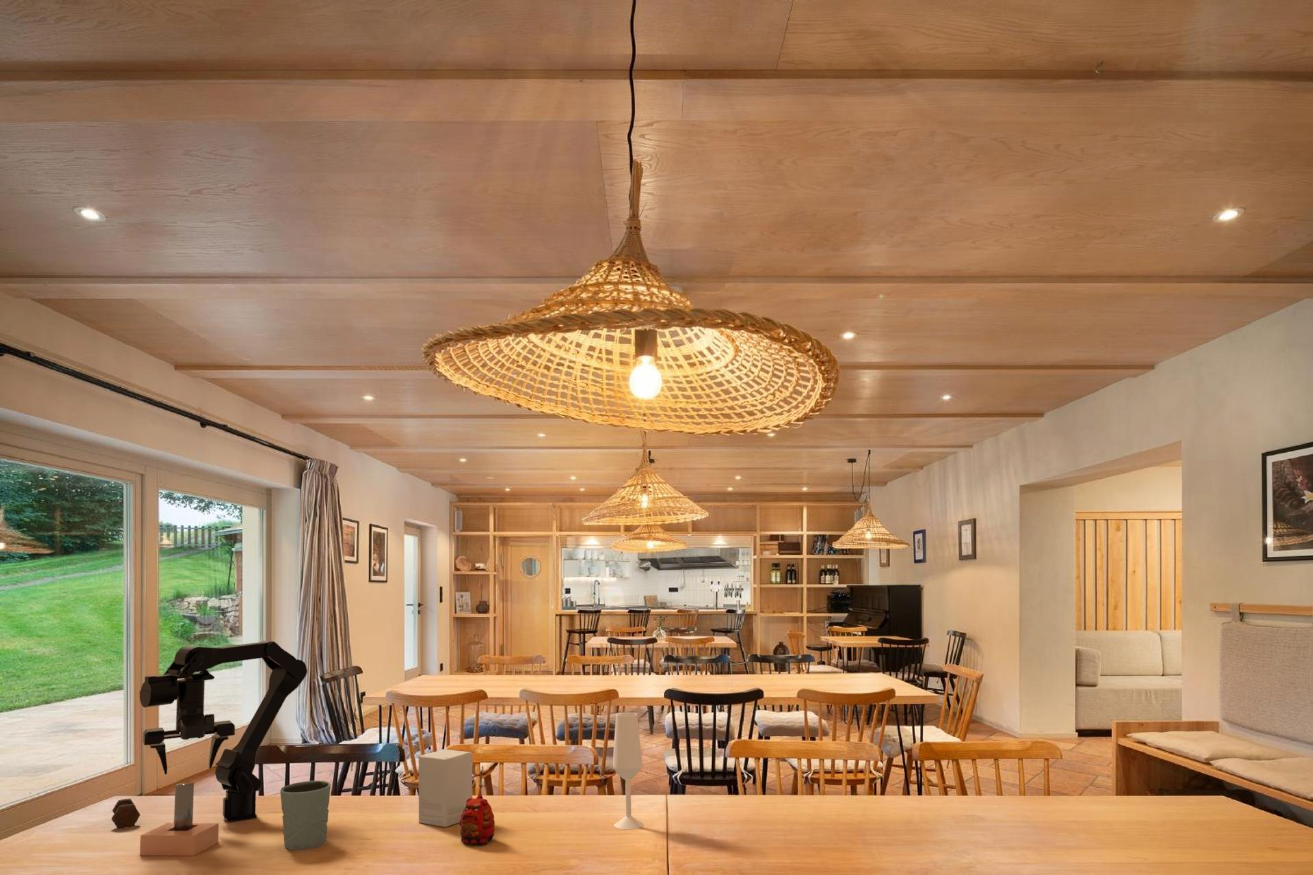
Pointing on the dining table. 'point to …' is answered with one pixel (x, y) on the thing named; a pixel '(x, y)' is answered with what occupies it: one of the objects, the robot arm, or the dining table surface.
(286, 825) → the green cup
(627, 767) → the champagne flute
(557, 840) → the dining table surface
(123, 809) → the bolt
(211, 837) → the socket block
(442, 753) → the supplement box
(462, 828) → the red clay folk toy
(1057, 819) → the dining table surface
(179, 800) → the peg
